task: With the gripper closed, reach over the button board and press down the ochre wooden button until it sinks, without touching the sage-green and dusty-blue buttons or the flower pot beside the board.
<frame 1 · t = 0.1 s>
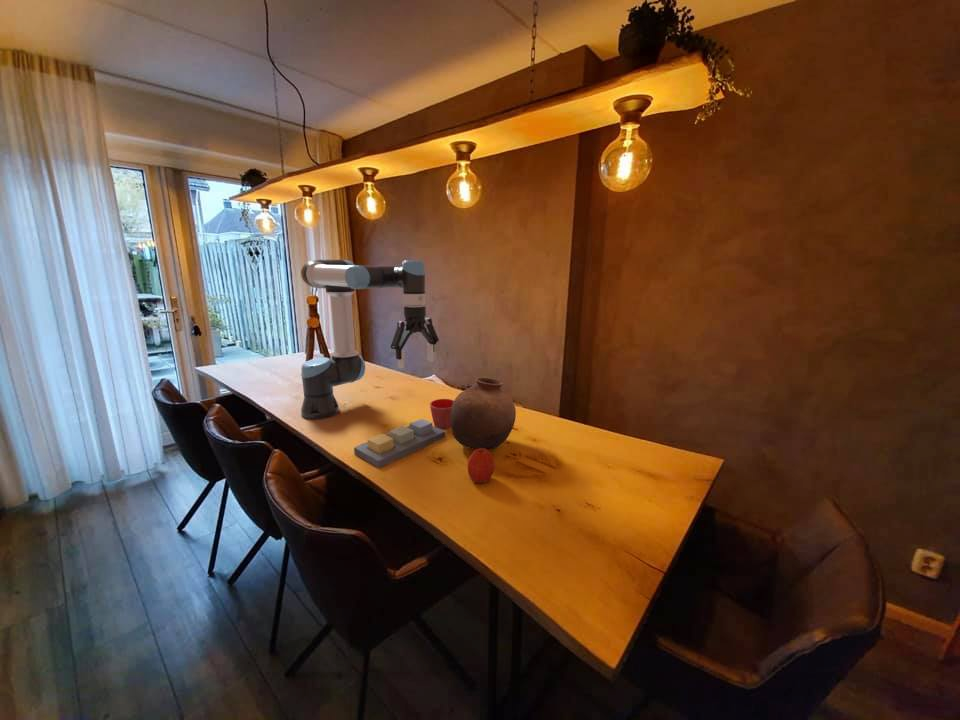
hand: (416, 364, 138), 28 cm above the table, fingers open, 13 cm apart
button board: (402, 445, 137), on the table
blue button: (421, 427, 143), point 4 cm above the table, slide at 0.0 cm
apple: (480, 480, 115), on the table
sage button: (401, 435, 136), point 4 cm above the table, slide at 0.0 cm
pottery: (482, 446, 137), on the table
ochre button: (380, 443, 129), point 4 cm above the table, slide at 0.0 cm
flower pot: (444, 426, 154), on the table
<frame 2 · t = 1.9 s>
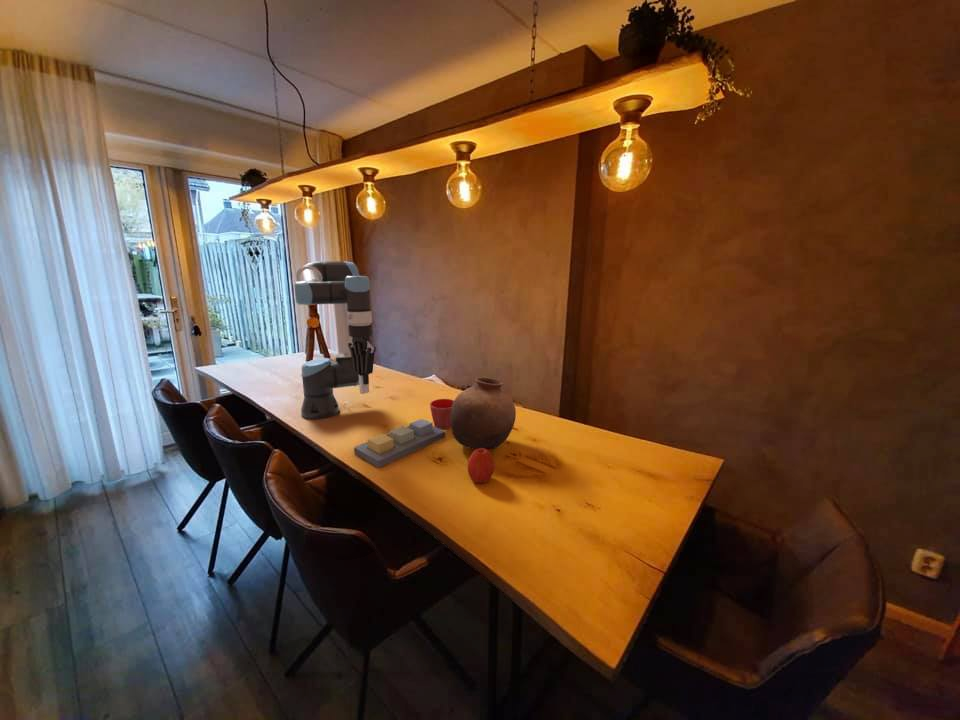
hand: (364, 392, 130), 21 cm above the table, fingers closed
nothing on the table moved.
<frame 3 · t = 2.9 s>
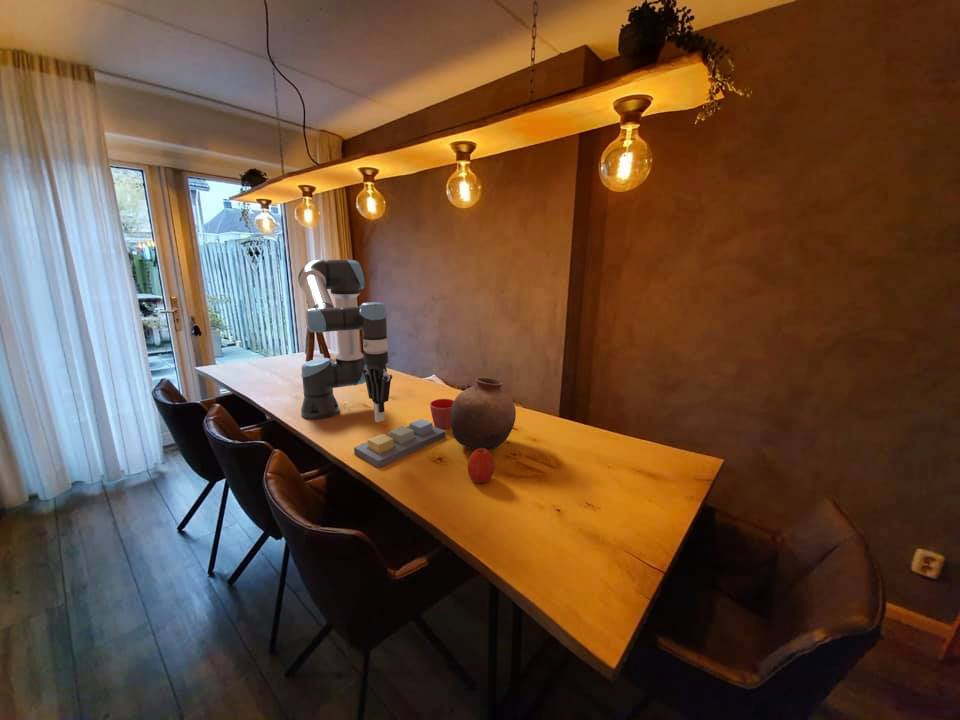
hand: (379, 420, 127), 13 cm above the table, fingers closed
nothing on the table moved.
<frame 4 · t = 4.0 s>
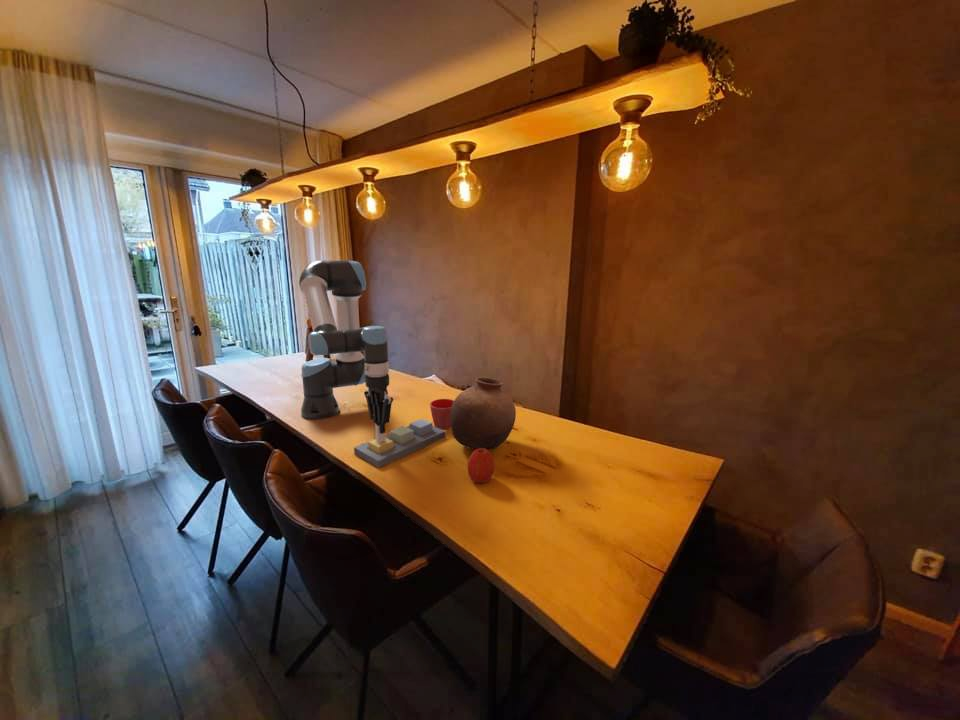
hand: (380, 441, 129), 5 cm above the table, fingers closed
ochre button: (381, 446, 129), point 3 cm above the table, slide at 0.9 cm, touching gripper
everything else where it was.
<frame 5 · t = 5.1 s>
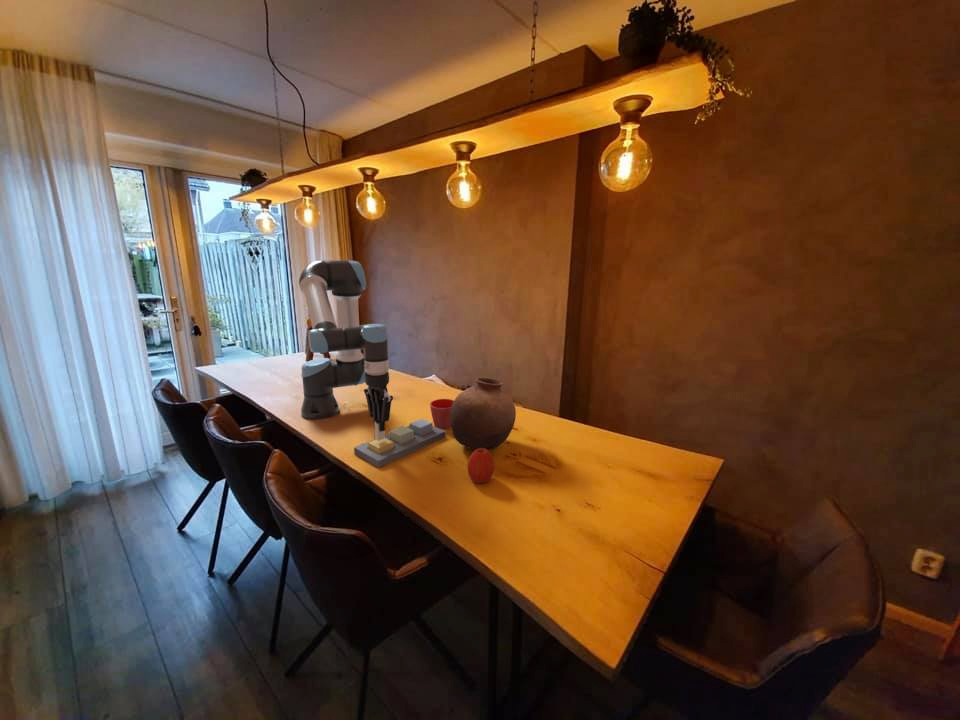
hand: (380, 438, 129), 6 cm above the table, fingers closed
ochre button: (381, 447, 129), point 3 cm above the table, slide at 1.2 cm
everything else where it was.
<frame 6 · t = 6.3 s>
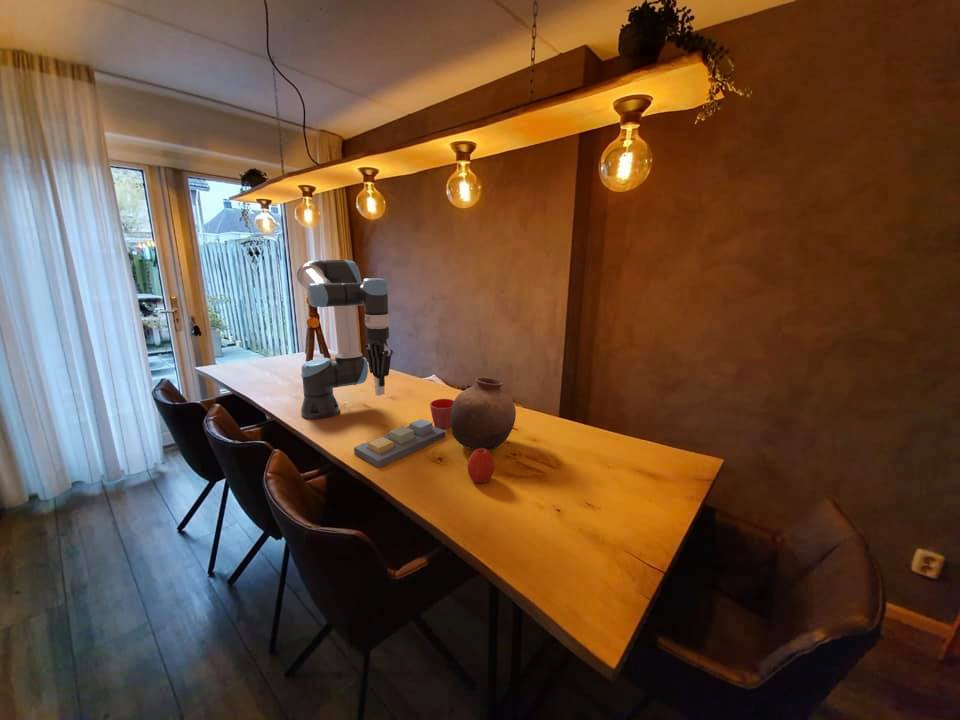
hand: (380, 394, 131), 20 cm above the table, fingers closed
nothing on the table moved.
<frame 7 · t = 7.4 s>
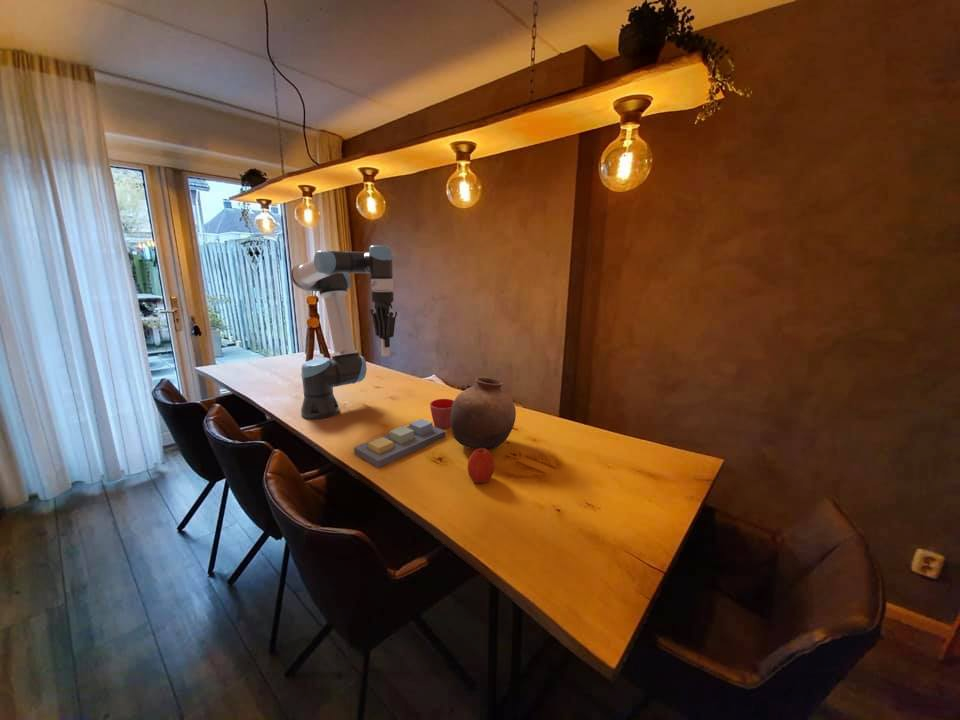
hand: (385, 355, 140), 30 cm above the table, fingers closed
nothing on the table moved.
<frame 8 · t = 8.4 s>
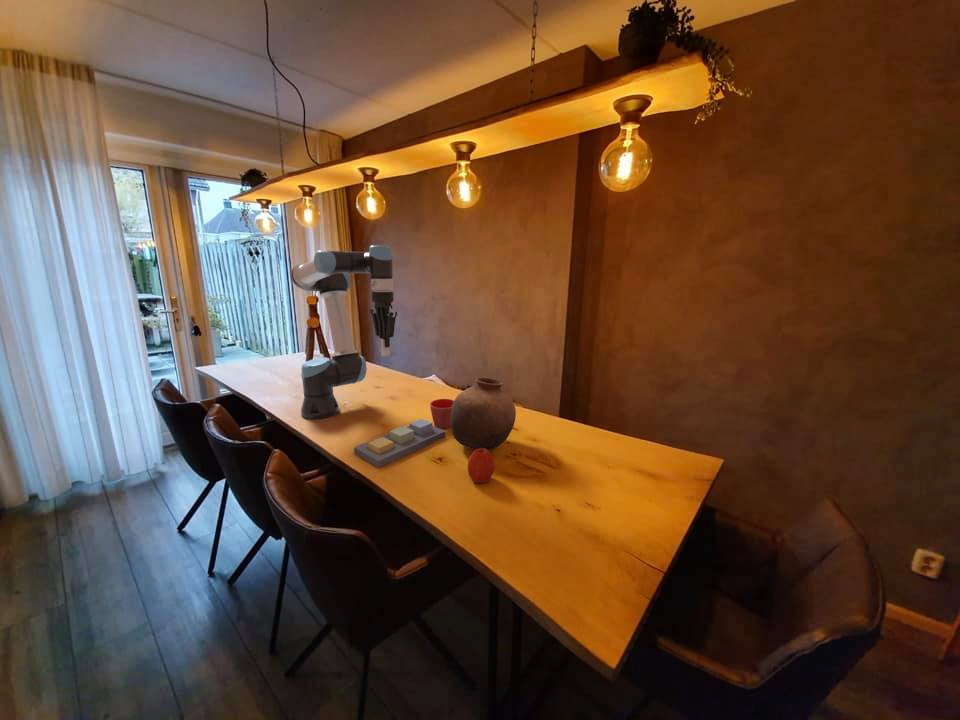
hand: (385, 355, 140), 30 cm above the table, fingers closed
nothing on the table moved.
at the end: ochre button slide at 1.2 cm; sage button slide at 0.0 cm; blue button slide at 0.0 cm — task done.
